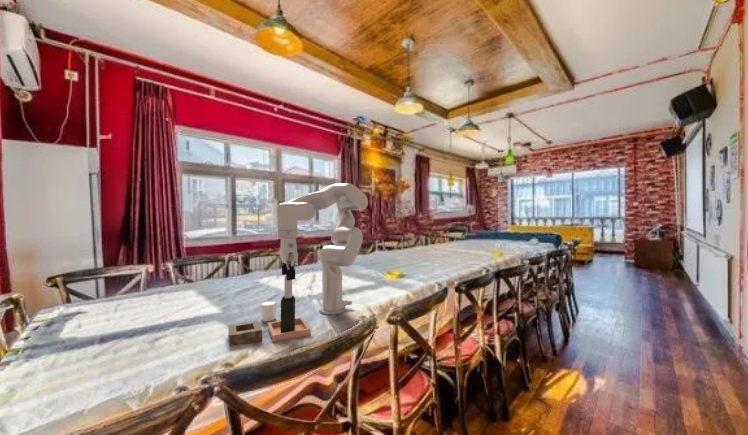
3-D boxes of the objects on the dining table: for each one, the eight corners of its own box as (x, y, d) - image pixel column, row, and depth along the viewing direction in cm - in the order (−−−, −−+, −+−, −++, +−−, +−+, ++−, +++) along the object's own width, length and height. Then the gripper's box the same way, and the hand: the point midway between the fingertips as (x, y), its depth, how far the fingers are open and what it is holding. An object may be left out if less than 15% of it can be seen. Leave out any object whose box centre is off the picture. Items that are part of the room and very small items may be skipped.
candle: (282, 327, 125) (283, 267, 124) (295, 327, 126) (295, 267, 125) (280, 333, 120) (280, 269, 119) (293, 332, 121) (294, 269, 120)
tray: (301, 322, 132) (301, 317, 132) (310, 335, 120) (310, 328, 120) (267, 328, 126) (267, 322, 126) (273, 342, 114) (273, 335, 114)
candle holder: (258, 329, 125) (258, 320, 125) (262, 340, 115) (262, 329, 115) (228, 335, 120) (228, 324, 120) (229, 346, 110) (229, 335, 110)
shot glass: (271, 321, 134) (271, 306, 133) (257, 320, 135) (257, 305, 135) (279, 316, 140) (279, 301, 140) (265, 315, 142) (265, 300, 141)
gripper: (302, 235, 116) (303, 280, 116) (292, 232, 131) (293, 271, 132) (282, 236, 112) (282, 283, 113) (274, 232, 128) (274, 273, 128)
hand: (288, 277), depth 122 cm, fingers open, 9 cm apart
